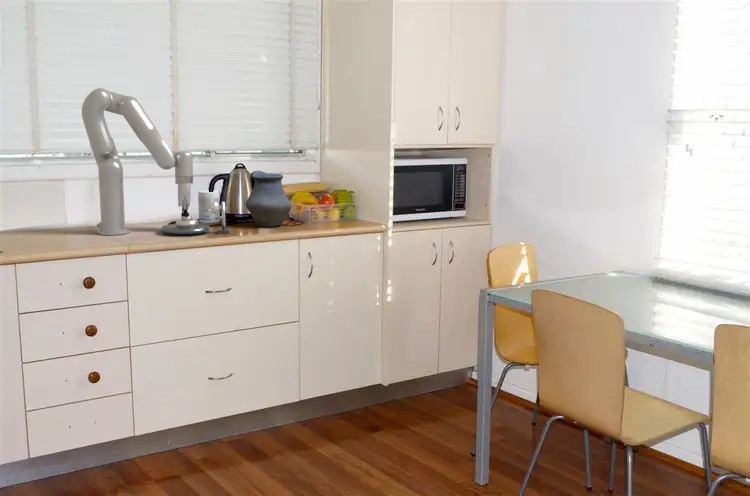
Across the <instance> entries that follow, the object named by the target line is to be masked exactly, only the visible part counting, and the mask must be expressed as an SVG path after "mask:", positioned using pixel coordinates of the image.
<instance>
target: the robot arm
mask: <svg viewBox="0 0 750 496" xmlns="http://www.w3.org/2000/svg"><path fill="white" fill-rule="evenodd" d="M105 112H109V113H112V114H116V115H120V116H123V118H124V120H125V121H126V122H127V123H128V125H129V126H130V128H131V129H132V131H133V132H134V134H135V135H136V137H137V138H138V139H139V141H140V142H141V143H142V144H143V145H144V146H145V148H146V149H147V150H148V152H149V153H150V154H151V156H152V157H153V159H154V161H155V162H156V165H157V166H158V167H159V168H161V169H162V170H166V171H167V170H171V169H172V168H174V181H175V185H177V205H178V208H180V207H181V214H180V215H181V217H180V219H182V216H190V213H189V207H190V205H191V198H192V197H191V196H192V195H191V191H192V190H191V189H192V188H191V185H193V184H194V162H193V161H194V160H193V158H194V157H193V153H192V152H191V151H188V150H184V151H183V150H182V151H179V150H178V151H171V149H170V148H169V146H168V145H167V143H166V142H165V140H164V139H163V137H162V136H161V134H160V132H159V130H158V129H157V126H155V124H154V122H153V121H152V120H151V118H150V116H149V115H148V113H146V111H145V109H144V108H143V106H142V105H141V103H140V102H139V100H138V99H137V98H135V97H134V96H127V95H124V94H120V93H117V92H113V91H111V90H106V89H105V88H101V87H99V88H95V89H93V90H92V91H91V92H90V93H88V95H87V96H86V97H85V98H84V100H83V102H82V106H81V117H82V122H83V125H84V129H85V132H86V134H87V135H86V136H87V138H88V141H89V146H90V148H91V150H92V153H93V157H94V159H95V163H96V166H97V167H98V173H97V174H98V185H99V187H98V189H99V191H98V192H99V208H100V222H98V223H96V227H97V228H99V229H98V230H97V234H98V235H103V236H117V235H119V236H120V235H126V234H129V233H130V229H128V228H126V221H125V219H126V218H125V214H126V213H125V197H124V168H123V167H124V166H123V164H122V162H121V159H120V157H119V154H118V150H117V147H116V144H115V141H114V138H113V137H112V135H111V134H110V130H109V128H108V125H107V121H106V118H105Z"/></svg>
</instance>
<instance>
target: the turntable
mask: <svg viewBox="0 0 750 496" xmlns="http://www.w3.org/2000/svg"><path fill="white" fill-rule="evenodd" d="M160 228H161V232H162V233H165V234H173V235H177V234H192V235H194V234H193V233H197V234H202V233H207V232H209V231H210V230H211V228H210V225H208V224H207V223H198V227H197V228H189V229H182V228H176V223H171V224H164V225H162V226H161V227H160Z"/></svg>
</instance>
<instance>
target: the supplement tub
mask: <svg viewBox="0 0 750 496" xmlns="http://www.w3.org/2000/svg"><path fill="white" fill-rule="evenodd" d="M213 190H214V191H213V192H209V189H206V190H198V193H197V198H198V201H197V203H198V204H197V205H198V223H200V224H213V213H211V212H210V211H209V210H208V205H209V204H210V203H211V202H216V203H217V204H218V205H219V206H220V195H219V190H216V189H213ZM220 214H221V213H220V209H219V210H218V211H217V212H216V213H214V223H215V224H216V223H219V222H220V219H221V217H220Z"/></svg>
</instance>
